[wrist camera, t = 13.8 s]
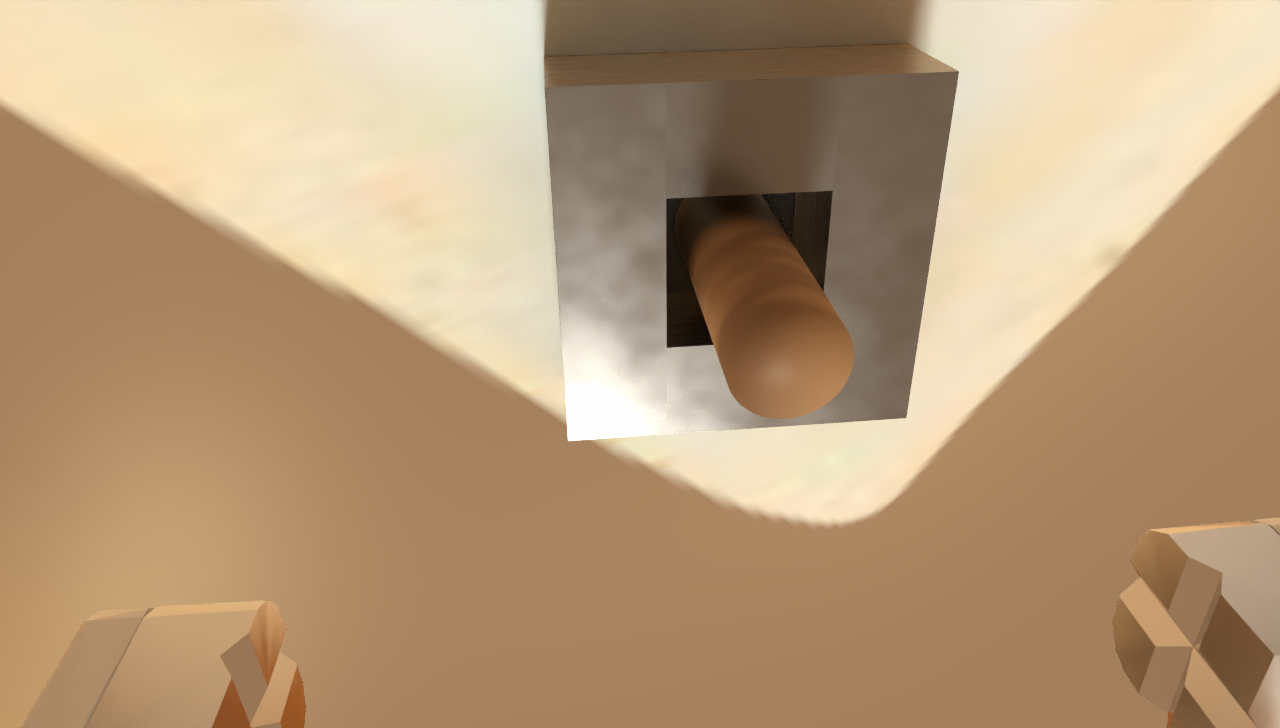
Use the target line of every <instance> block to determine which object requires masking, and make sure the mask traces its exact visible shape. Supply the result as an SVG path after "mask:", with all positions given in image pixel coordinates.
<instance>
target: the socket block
mask: <svg viewBox="0 0 1280 728" xmlns="http://www.w3.org/2000/svg"><path fill="white" fill-rule="evenodd" d="M958 73H959V71H957V70H955V69H953V68H952V67H950V66H948V65H946V64H944V63H942V62H940V61H939V60H937V59H935V58H933V57H931V56H929V55H928V54H926V53H924V52H922V51H920V50H918V49H916V48H915V47H913V46H911V45H909V44H883V45H855V46H827V47H800V48H772V49H745V50H717V51H690V52H662V53H634V54H607V55H579V56H552V57H544V77H545V99H546V114H547V129H548V144H549V159H550V174H551V189H552V204H553V219H554V234H555V249H556V264H557V279H558V294H559V309H560V324H561V339H562V354H563V369H564V383H565V398H566V413H567V428H568V440H569V441H572V440H588V439H603V438H617V437H632V436H647V435H662V434H676V433H691V432H706V431H721V430H735V429H750V428H765V427H780V426H794V425H809V424H824V423H839V422H853V421H868V420H883V419H898V418H906V416H907V409H908V402H909V396H910V389H911V383H912V376H913V369H914V363H915V356H916V350H917V343H918V337H919V330H920V323H921V317H922V310H923V304H924V297H925V291H926V284H927V277H928V271H929V264H930V258H931V251H932V244H933V238H934V231H935V225H936V218H937V212H938V205H939V198H940V192H941V185H942V179H943V172H944V166H945V159H946V152H947V146H948V139H949V133H950V126H951V119H952V113H953V106H954V100H955V93H956V87H957V80H958ZM792 192H796V194H795V208H794V222H793V236H792V243H793V245H794V246H795V248H796V249H797V251H798V253H799V254H800V256H801V257H802V259H803V261H804V262H805V264H806V265H807V267H808V268H809V270H810V272H811V273H812V275H813V276H814V278H815V279H816V281H817V283H818V284H819V286H820V287H821V289H822V291H823V292H824V294H825V295H826V297H827V298H828V300H829V302H830V303H831V305H832V306H833V308H834V310H835V311H836V313H837V314H838V316H839V317H840V319H841V321H842V322H843V324H844V325H845V327H846V329H847V330H848V332H849V334H850V336H851V338H852V342H853V346H854V362H853V367H852V370H851V373H850V376H849V378H848V380H847V382H846V384H845V385H844V387H843V388H842V389H841V391H840V392H839V393H838V394H837V395H836V396H835V397H834V398H833V399H832V400H831V401H830V402H828V403H827V404H826V405H824V406H823V407H821V408H820V409H818V410H816V411H814V412H812V413H809V414H807V415H804V416H800V417H796V418H790V419H772V418H766V417H762V416H759V415H756V414H754V413H752V412H750V411H748V410H747V409H745V408H744V407H743V406H741V405H740V404H739V403H738V402H737V401H736V399H735V398H734V397H733V395H732V394H731V392H730V390H729V388H728V385H727V382H726V379H725V376H724V373H723V370H722V368H721V365H720V362H719V359H718V356H717V353H716V350H715V347H714V344H713V342H712V339H711V336H710V333H709V330H708V327H707V324H706V321H705V319H704V316H703V313H702V310H701V307H700V304H699V301H698V298H697V295H696V293H695V290H693V291H675V292H666V199H668V198H689V197H709V196H730V195H751V194H771V193H792Z"/></svg>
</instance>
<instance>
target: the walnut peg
mask: <svg viewBox="0 0 1280 728" xmlns="http://www.w3.org/2000/svg"><path fill="white" fill-rule="evenodd" d="M675 234H676V238H677V241H678V244H679V246H680V249H681V252H682V255H683V258H684V261H685V264H686V267H687V270H688V272H689V275H690V278H691V281H692V284H693V287H694V290H695V293H696V295H697V298H698V301H699V304H700V307H701V310H702V313H703V316H704V319H705V321H706V324H707V327H708V330H709V333H710V336H711V339H712V342H713V344H714V347H715V350H716V353H717V356H718V359H719V362H720V365H721V368H722V370H723V373H724V376H725V379H726V382H727V385H728V388H729V390H730V392H731V394H732V395H733V397H734V398H735V399H736V401H737V402H738V403H739V404H740V405H741V406H743V407H744V408H745V409H747V410H748V411H750V412H752V413H754V414H756V415H759V416H762V417H766V418H772V419H790V418H796V417H800V416H804V415H807V414H809V413H812V412H814V411H816V410H818V409H820V408H821V407H823V406H824V405H826V404H827V403H828V402H830V401H831V400H832V399H833V398H834V397H835V396H836V395H837V394H838V393H839V392H840V391H841V389H842V388H843V387H844V385H845V384H846V382H847V380H848V378H849V376H850V373H851V370H852V367H853V362H854V346H853V342H852V338H851V336H850V334H849V332H848V330H847V329H846V327H845V325H844V324H843V322H842V321H841V319H840V317H839V316H838V314H837V313H836V311H835V310H834V308H833V306H832V305H831V303H830V302H829V300H828V298H827V297H826V295H825V294H824V292H823V291H822V289H821V287H820V286H819V284H818V283H817V281H816V279H815V278H814V276H813V275H812V273H811V272H810V270H809V268H808V267H807V265H806V264H805V262H804V261H803V259H802V257H801V256H800V254H799V253H798V251H797V249H796V248H795V246H794V245H793V243H792V242H791V240H790V238H789V237H788V235H787V234H786V232H785V230H784V229H783V227H782V226H781V224H780V223H779V221H778V219H777V218H776V216H775V215H774V213H773V212H772V210H771V208H770V207H769V205H768V204H767V202H766V200H765V199H764V197H763V196H762V194H751V195H730V196H709V197H689V198H683V200H682V201H681V203H680V205H679V207H678V210H677V213H676V217H675Z"/></svg>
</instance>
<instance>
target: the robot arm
mask: <svg viewBox="0 0 1280 728" xmlns="http://www.w3.org/2000/svg"><path fill="white" fill-rule="evenodd" d="M1130 562H1131V564H1132V566H1133V567H1134V569H1135V570H1136V572H1137V573H1138V575H1139V578H1138V579H1137V580H1136V581H1135V582H1134V583H1133V584H1132V585H1131V586H1129V587H1128V588H1127V589H1126V590H1125V591H1124V592H1123V593H1122V594H1120V595H1119V597H1118V601H1117V605H1116V609H1115V613H1114V617H1113V621H1112V625H1113V633H1114V640H1115V649H1116V652H1117V654H1118V657H1119V659H1120V662H1121V664H1122V667H1123V669H1124V671H1125V673H1126V675H1127V676H1128V678H1129V679H1130V681H1131V683H1132V684H1133V686H1134V687H1135V689H1136V690H1137V692H1138V693H1139V694H1140V695H1142V696H1143V697H1145V698H1146V699H1148V700H1150V701H1151V702H1153V703H1154V704H1156V705H1158V706H1159V707H1161V708H1162V709H1164V710H1166V711H1167V712H1168V718H1167V728H1280V518H1269V519H1258V520H1252V521H1249V522H1244V521H1242V522H1230V523H1218V524H1207V525H1196V526H1186V527H1185V526H1184V527H1173V528H1162V529H1150V530H1147V531H1146V532H1145V533H1144V534H1143V536H1141V537H1140V538H1139V540H1138V541H1137V542H1136V545H1135V548H1134V551H1133V554H1132V557H1131V560H1130ZM285 633H286V627H285V625H284V622H283V620H282V616H281V614H280V611H279V609H278V606H277V604H276V603H273V602H270V601H267V600H263V601H246V602H245V601H244V602H227V603H209V604H191V605H173V606H157V607H156V608H147V609H146V608H145V609H123V610H102V611H99V612H97V613H96V614H94V615H93V616H92V617H90V618H89V619H87V620H86V621H85V622H84V623H83V624H82V626H81V627H80V629H79V631H78V632H77V634H76V636H75V637H74V639H73V641H72V643H71V644H70V646H69V647H68V649H67V651H66V652H65V654H64V656H63V657H62V659H61V661H60V662H59V664H58V666H57V667H56V669H55V671H54V672H53V674H52V676H51V677H50V679H49V681H48V682H47V684H46V686H45V687H44V689H43V691H42V692H41V694H40V696H39V697H38V699H37V701H36V702H35V704H34V706H33V707H32V709H31V711H30V712H29V714H28V716H27V717H26V719H25V720H24V722H23V724H22V726H21V727H20V728H304V724H305V712H306V704H305V696H304V687H303V681H302V678H301V675H300V671H299V668H298V665H297V664H296V663H295V662H293V661H292V660H291V659H289V658H288V657H286V656H285V655H283V654H282V653H280V652H279V651H280V648H281V645H282V642H283V639H284V636H285Z"/></svg>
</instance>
